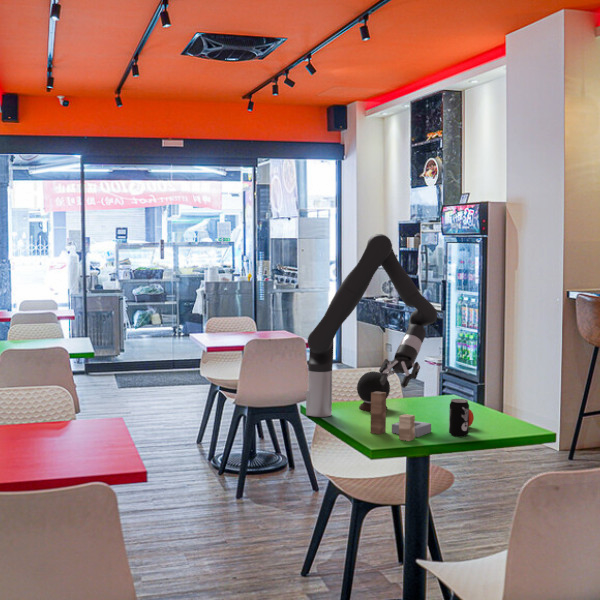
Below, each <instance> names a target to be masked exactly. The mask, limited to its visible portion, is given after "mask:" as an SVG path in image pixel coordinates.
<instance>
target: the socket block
mask: <svg viewBox="0 0 600 600" xmlns="http://www.w3.org/2000/svg"><path fill="white" fill-rule="evenodd" d="M395 433H396V435H399V421H398V422H395V423H392V424H391V434H395ZM430 433H432V423H430V422H424V421H423V422H422V421H417V420H415V436H414V438H419V437H422V436H424V435H426V434H430Z"/></svg>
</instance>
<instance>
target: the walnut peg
mask: <svg viewBox="0 0 600 600" xmlns="http://www.w3.org/2000/svg"><path fill="white" fill-rule="evenodd" d="M386 407H387V398H386V392H378V391H376V392H372V393H371V412H370V433H371V434H375V433H376V435H382V433H383V434H385V433H386V432H387V430H386V428H387V426H386V425H387V424H386V423H387V422H386V421H387V419H386V418H387V410H386Z"/></svg>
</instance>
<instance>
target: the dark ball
mask: <svg viewBox="0 0 600 600" xmlns="http://www.w3.org/2000/svg"><path fill="white" fill-rule="evenodd" d="M381 376H382V375H381V373H380V372H379V371H374V370H373V371H368V372H366V373H364V374H363V375H361V376H360V378H359V380H358V381H357V386H356V391H357V394H358V396H359V398H360V400H362V401H363V402H362V403H360V405H359V406H358V409H359V410H360V411H364V412H370V411H371V393H372V392H376V391H378V392H386V399H388V396H389V395H390V391H391V384H390V381H389V380H388V378H387V380H386V382H385V384H384V385H381V383H380V379H381ZM387 410H388V407H387V406H386V411H387Z"/></svg>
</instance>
